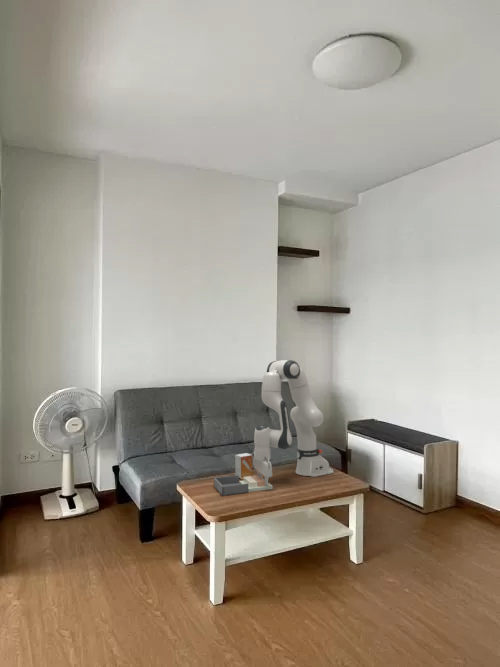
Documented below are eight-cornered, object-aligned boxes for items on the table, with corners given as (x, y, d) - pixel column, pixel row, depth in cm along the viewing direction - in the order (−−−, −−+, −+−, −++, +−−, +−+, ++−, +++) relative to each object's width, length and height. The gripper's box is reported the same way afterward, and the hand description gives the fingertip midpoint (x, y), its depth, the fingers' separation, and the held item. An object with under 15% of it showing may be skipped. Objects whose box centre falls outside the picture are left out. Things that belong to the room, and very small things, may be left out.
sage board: (263, 481, 263) (262, 478, 263) (272, 489, 249) (272, 485, 249) (239, 484, 258) (239, 481, 258) (247, 492, 244) (247, 488, 244)
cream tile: (250, 480, 259) (250, 476, 259) (257, 486, 248) (257, 482, 248) (243, 481, 258) (243, 476, 258) (250, 487, 246) (250, 482, 246)
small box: (241, 479, 267) (240, 456, 267) (235, 477, 272) (234, 454, 272) (252, 477, 271) (252, 454, 271) (246, 474, 276) (246, 452, 277)
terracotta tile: (257, 479, 260) (257, 475, 260) (265, 485, 249) (264, 481, 249) (250, 480, 259) (250, 476, 259) (257, 486, 248) (257, 482, 248)
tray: (238, 483, 260) (238, 475, 260) (248, 492, 243) (248, 483, 243) (213, 486, 255) (213, 477, 255) (222, 496, 239) (222, 486, 239)
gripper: (274, 459, 246) (275, 486, 246) (261, 451, 266) (261, 475, 265) (263, 460, 244) (264, 487, 244) (250, 452, 264) (251, 477, 263)
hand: (262, 481), depth 255 cm, fingers open, 8 cm apart
